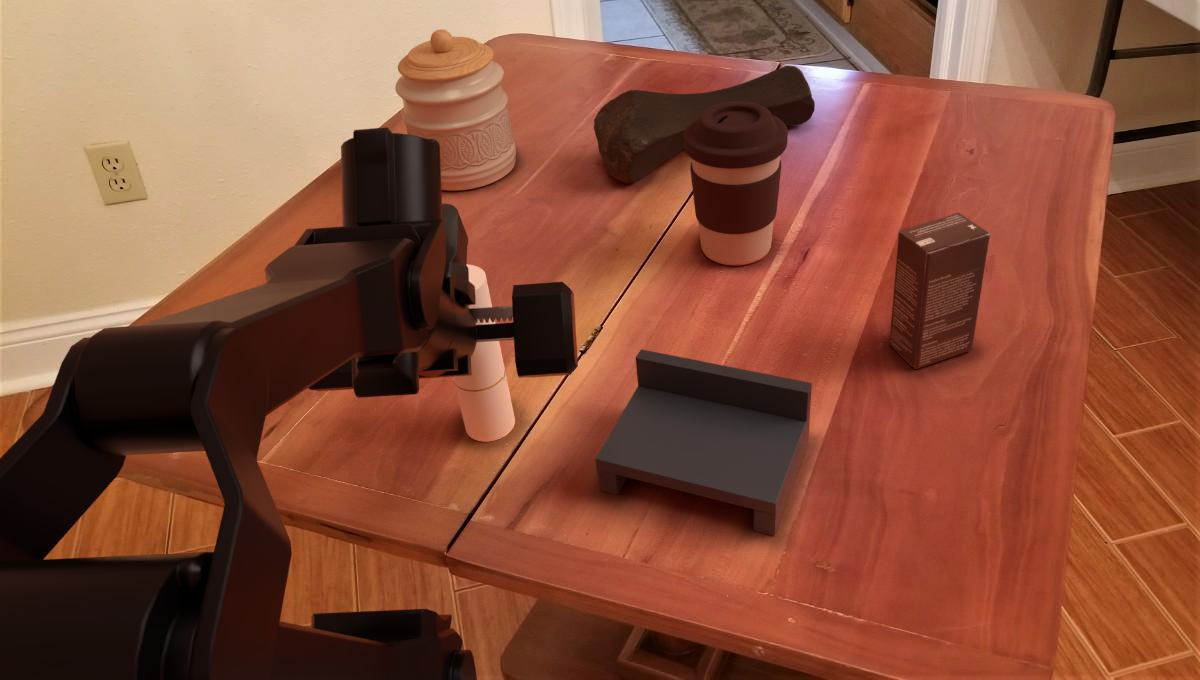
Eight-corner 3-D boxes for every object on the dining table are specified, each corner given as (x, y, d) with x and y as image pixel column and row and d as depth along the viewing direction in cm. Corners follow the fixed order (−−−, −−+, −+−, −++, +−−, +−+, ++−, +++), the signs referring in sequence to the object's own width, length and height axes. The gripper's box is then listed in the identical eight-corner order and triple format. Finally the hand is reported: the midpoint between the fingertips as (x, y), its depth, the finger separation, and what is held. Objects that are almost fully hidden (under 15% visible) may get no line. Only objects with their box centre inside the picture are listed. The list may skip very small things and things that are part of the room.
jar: (513, 189, 113) (488, 46, 102) (407, 197, 114) (372, 56, 103) (522, 140, 123) (501, 6, 112) (425, 148, 124) (395, 15, 113)
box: (941, 324, 85) (959, 209, 78) (972, 352, 82) (995, 235, 74) (883, 343, 84) (896, 227, 77) (913, 372, 81) (930, 254, 73)
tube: (501, 445, 78) (469, 300, 69) (456, 436, 80) (419, 292, 70) (523, 412, 81) (495, 268, 72) (479, 403, 83) (446, 261, 73)
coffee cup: (802, 257, 96) (808, 121, 87) (716, 285, 93) (713, 148, 84) (753, 214, 103) (754, 85, 94) (672, 239, 101) (665, 109, 92)
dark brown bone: (607, 203, 112) (799, 163, 122) (629, 146, 103) (834, 108, 113) (574, 133, 116) (763, 100, 126) (592, 73, 107) (794, 42, 117)
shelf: (774, 536, 68) (776, 474, 64) (599, 490, 73) (590, 430, 69) (808, 443, 75) (812, 382, 71) (645, 407, 80) (640, 348, 76)
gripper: (555, 182, 57) (579, 238, 73) (257, 205, 58) (343, 256, 74) (565, 364, 56) (587, 381, 71) (260, 384, 57) (347, 397, 72)
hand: (464, 349), depth 72 cm, fingers open, 9 cm apart
